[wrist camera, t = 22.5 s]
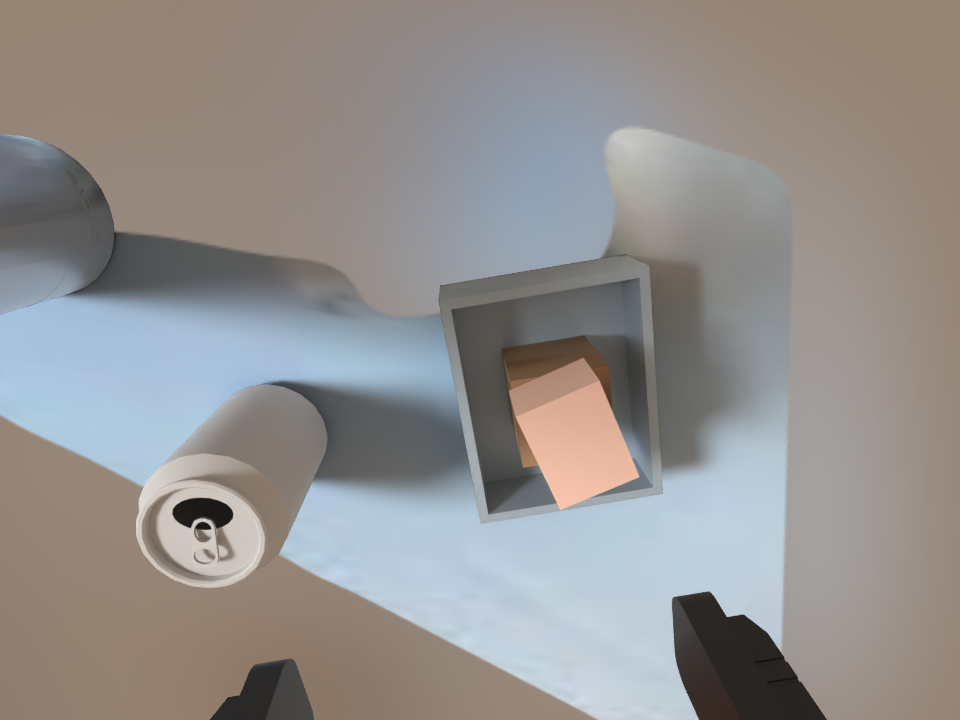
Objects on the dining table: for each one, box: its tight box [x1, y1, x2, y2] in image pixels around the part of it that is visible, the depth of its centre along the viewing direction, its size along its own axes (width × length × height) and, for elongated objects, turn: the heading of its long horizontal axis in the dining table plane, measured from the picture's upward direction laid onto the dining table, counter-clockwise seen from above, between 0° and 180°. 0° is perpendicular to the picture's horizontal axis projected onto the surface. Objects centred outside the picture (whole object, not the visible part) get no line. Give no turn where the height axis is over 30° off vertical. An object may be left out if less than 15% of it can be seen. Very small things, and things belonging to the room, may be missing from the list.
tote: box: [439, 254, 663, 524], centre depth 36 cm, size 12×15×4 cm
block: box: [502, 335, 613, 468], centre depth 34 cm, size 6×6×6 cm
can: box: [136, 384, 328, 588], centre depth 32 cm, size 8×8×12 cm
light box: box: [509, 358, 639, 510], centre depth 30 cm, size 4×6×4 cm
